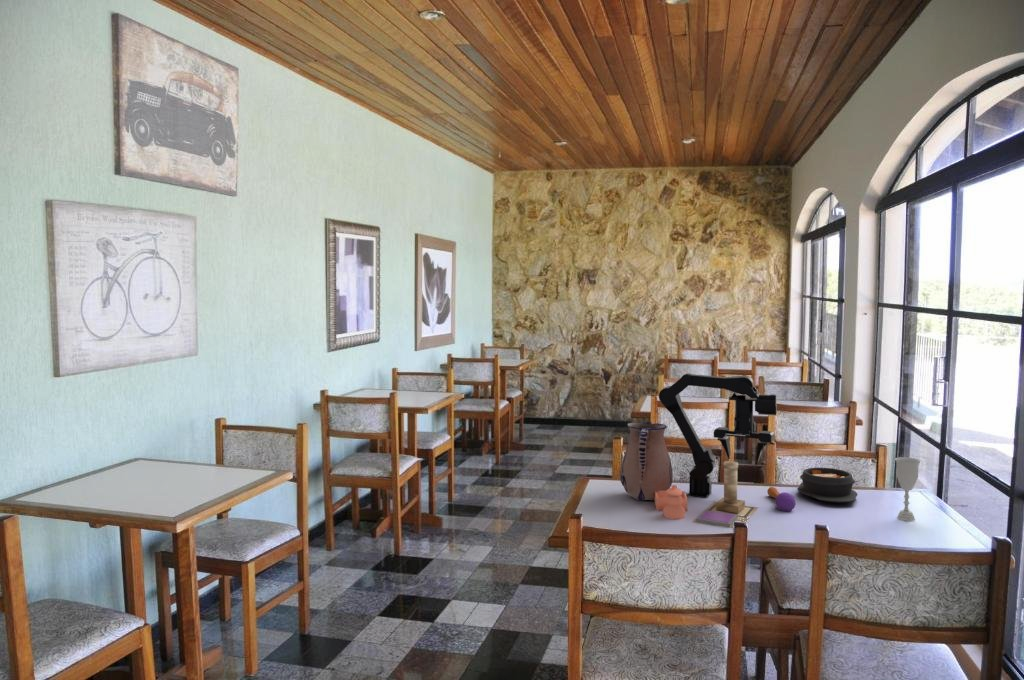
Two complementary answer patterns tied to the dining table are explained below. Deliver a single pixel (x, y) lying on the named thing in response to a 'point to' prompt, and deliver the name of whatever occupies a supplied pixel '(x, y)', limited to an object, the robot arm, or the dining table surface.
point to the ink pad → (717, 518)
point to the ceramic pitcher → (646, 461)
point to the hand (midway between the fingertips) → (743, 460)
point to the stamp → (730, 490)
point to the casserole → (828, 485)
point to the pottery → (671, 502)
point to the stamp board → (745, 512)
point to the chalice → (907, 482)
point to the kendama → (782, 499)
